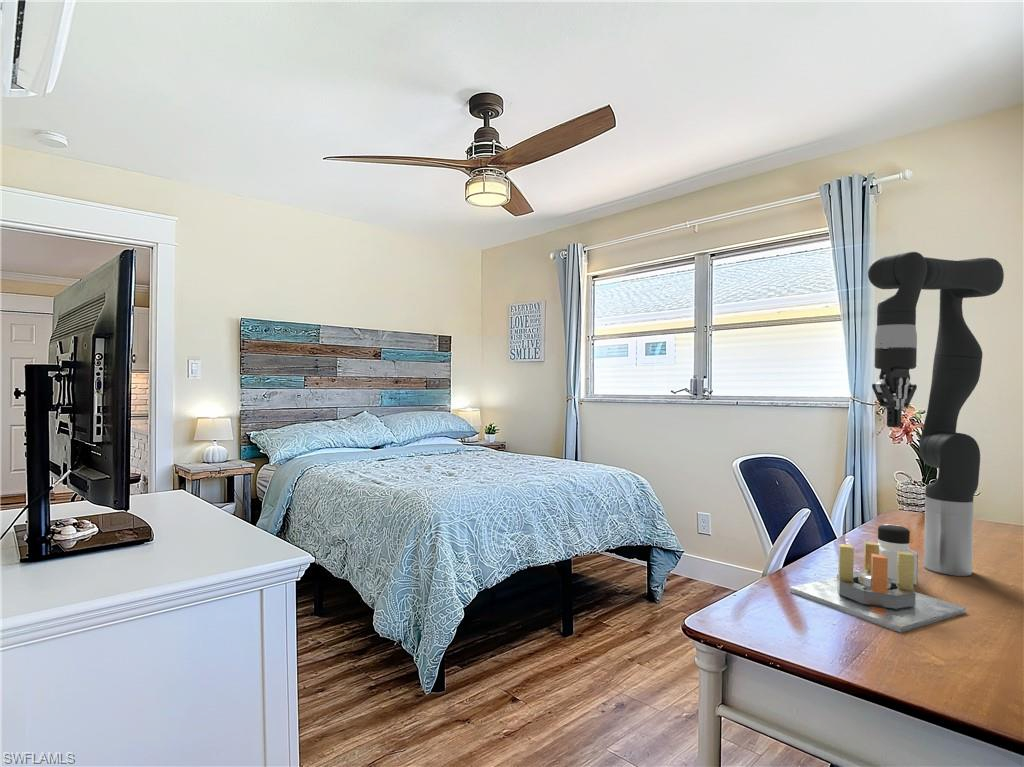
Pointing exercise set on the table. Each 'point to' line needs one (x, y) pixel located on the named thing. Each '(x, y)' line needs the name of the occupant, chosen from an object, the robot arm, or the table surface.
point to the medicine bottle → (895, 547)
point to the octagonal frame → (877, 578)
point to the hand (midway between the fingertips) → (893, 427)
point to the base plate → (891, 618)
